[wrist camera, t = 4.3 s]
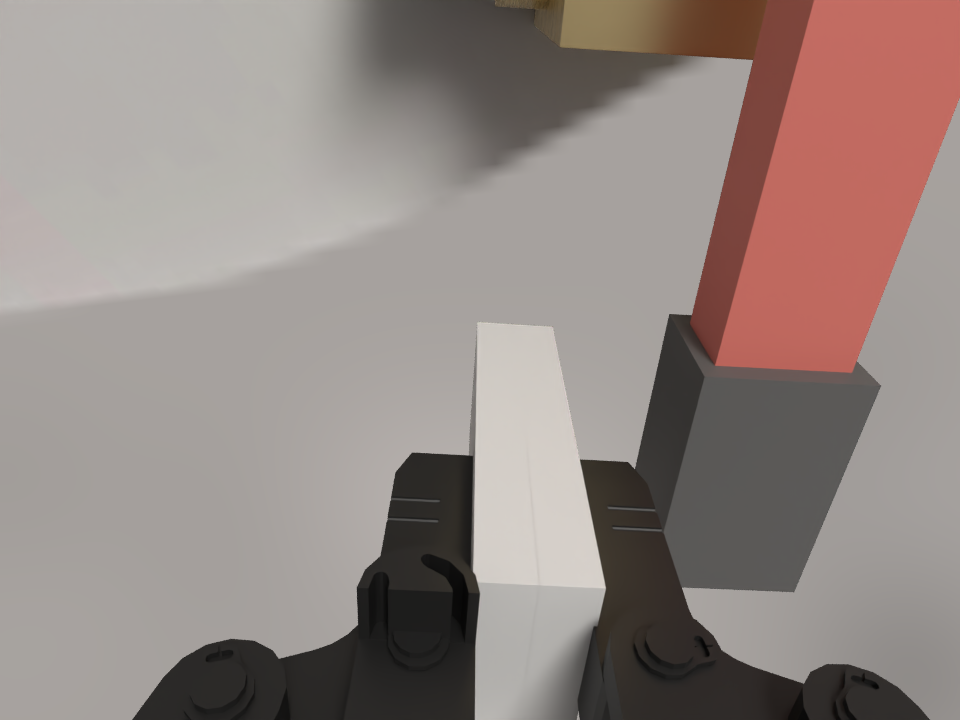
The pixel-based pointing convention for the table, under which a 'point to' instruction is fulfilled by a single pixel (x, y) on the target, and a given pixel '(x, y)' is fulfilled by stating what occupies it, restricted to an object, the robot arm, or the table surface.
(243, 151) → the table surface
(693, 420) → the lever
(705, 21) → the valve body
